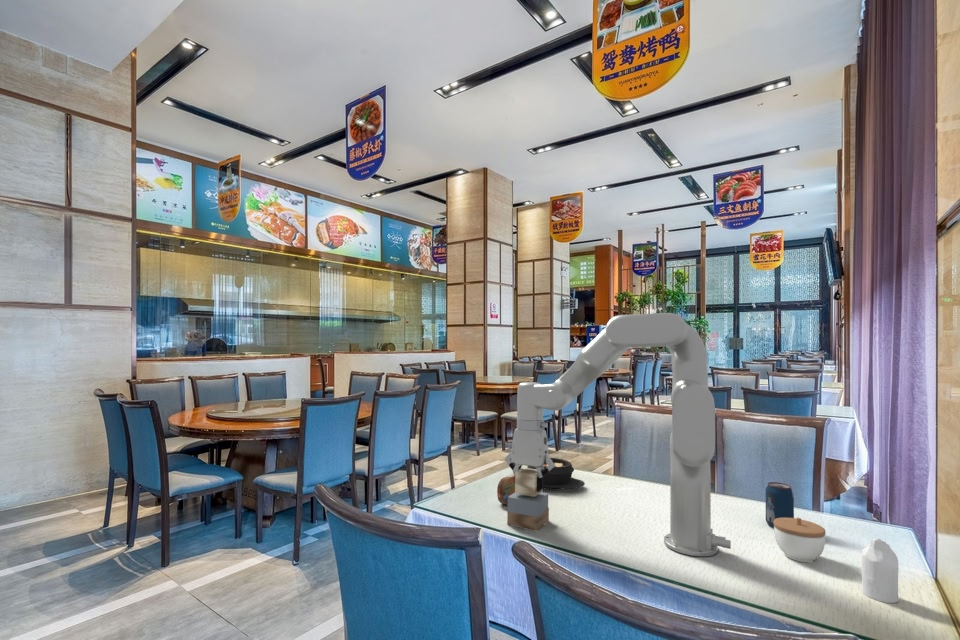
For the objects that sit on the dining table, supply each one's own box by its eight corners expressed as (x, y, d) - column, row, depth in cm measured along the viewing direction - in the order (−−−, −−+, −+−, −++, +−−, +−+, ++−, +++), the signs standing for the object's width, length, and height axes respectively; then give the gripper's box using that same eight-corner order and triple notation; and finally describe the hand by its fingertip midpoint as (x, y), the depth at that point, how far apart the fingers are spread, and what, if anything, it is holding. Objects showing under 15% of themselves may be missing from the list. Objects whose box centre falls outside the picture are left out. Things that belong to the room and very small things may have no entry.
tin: (503, 508, 149) (503, 480, 150) (495, 506, 151) (495, 478, 152) (528, 496, 161) (529, 471, 162) (520, 494, 163) (521, 469, 164)
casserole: (507, 485, 174) (508, 461, 175) (530, 474, 190) (531, 452, 190) (573, 498, 161) (573, 472, 161) (592, 485, 177) (592, 462, 177)
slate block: (548, 507, 140) (548, 493, 140) (537, 517, 132) (538, 502, 132) (519, 502, 144) (519, 488, 144) (507, 511, 136) (507, 497, 136)
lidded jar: (764, 547, 124) (764, 510, 125) (807, 548, 124) (806, 511, 124) (790, 566, 113) (789, 525, 114) (836, 567, 113) (836, 527, 114)
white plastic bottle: (891, 535, 102) (903, 545, 97) (892, 593, 102) (904, 606, 96) (856, 530, 104) (867, 540, 99) (857, 587, 104) (868, 600, 98)
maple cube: (542, 491, 139) (542, 470, 139) (534, 496, 134) (534, 475, 134) (523, 488, 142) (523, 467, 142) (514, 493, 137) (515, 471, 137)
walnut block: (548, 521, 139) (548, 507, 139) (537, 532, 131) (537, 517, 132) (520, 516, 144) (520, 502, 144) (507, 525, 136) (507, 511, 136)
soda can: (796, 527, 138) (795, 485, 139) (791, 533, 133) (790, 490, 134) (768, 521, 143) (768, 480, 144) (763, 527, 138) (762, 484, 139)
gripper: (562, 426, 138) (562, 490, 137) (508, 420, 146) (507, 481, 145) (553, 430, 131) (552, 497, 130) (497, 424, 140) (496, 487, 139)
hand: (528, 488), depth 138 cm, fingers closed on maple cube, 5 cm apart
